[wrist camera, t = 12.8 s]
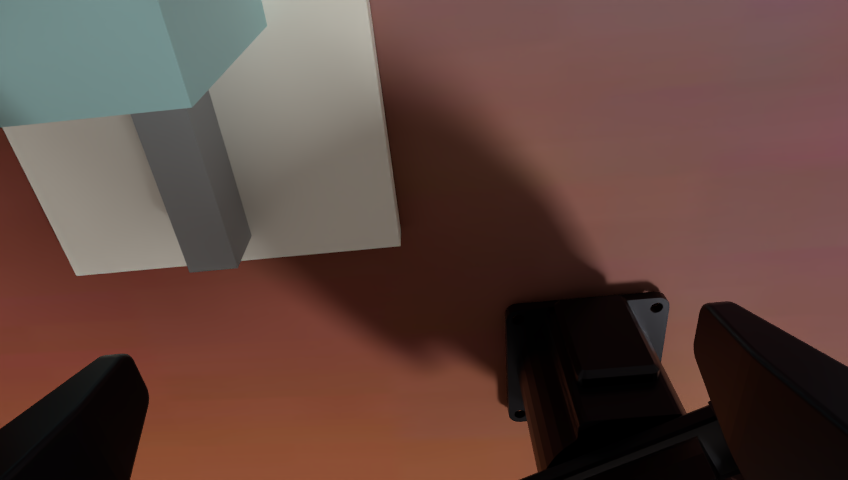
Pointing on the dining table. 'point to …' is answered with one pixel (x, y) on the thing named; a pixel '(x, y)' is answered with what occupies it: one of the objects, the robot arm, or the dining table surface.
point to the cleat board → (232, 158)
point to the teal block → (116, 55)
